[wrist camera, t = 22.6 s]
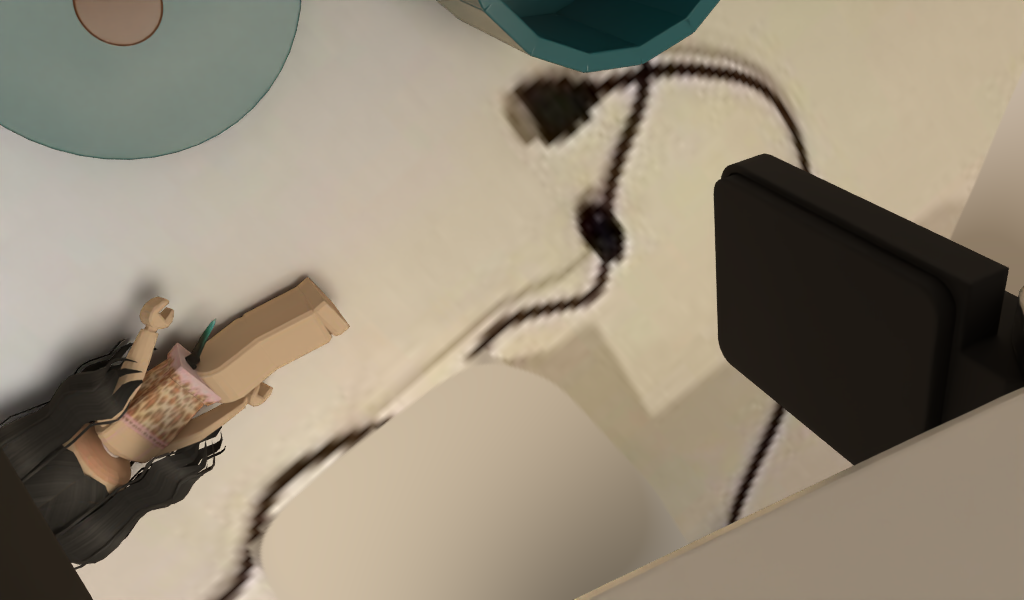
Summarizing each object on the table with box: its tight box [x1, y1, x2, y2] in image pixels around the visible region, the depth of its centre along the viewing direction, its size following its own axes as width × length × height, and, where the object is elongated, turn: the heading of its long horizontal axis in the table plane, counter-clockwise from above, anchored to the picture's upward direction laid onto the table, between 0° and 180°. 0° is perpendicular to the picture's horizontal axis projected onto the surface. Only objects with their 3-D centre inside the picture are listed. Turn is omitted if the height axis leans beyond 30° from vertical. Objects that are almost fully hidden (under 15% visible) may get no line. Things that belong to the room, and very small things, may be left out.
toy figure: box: [0, 277, 350, 569], centre depth 36 cm, size 7×6×15 cm
